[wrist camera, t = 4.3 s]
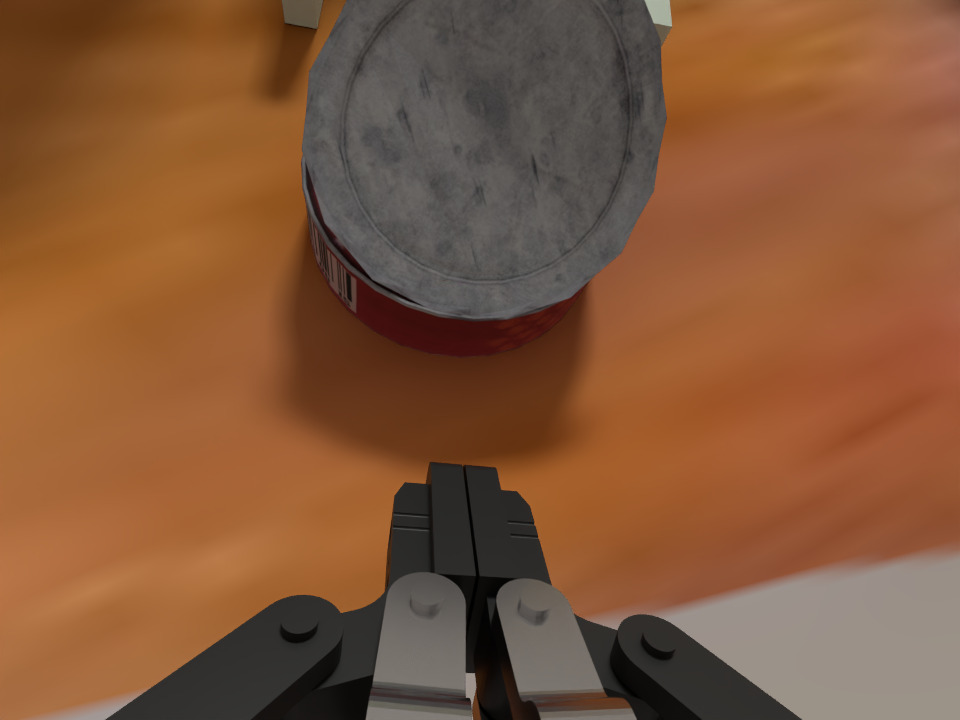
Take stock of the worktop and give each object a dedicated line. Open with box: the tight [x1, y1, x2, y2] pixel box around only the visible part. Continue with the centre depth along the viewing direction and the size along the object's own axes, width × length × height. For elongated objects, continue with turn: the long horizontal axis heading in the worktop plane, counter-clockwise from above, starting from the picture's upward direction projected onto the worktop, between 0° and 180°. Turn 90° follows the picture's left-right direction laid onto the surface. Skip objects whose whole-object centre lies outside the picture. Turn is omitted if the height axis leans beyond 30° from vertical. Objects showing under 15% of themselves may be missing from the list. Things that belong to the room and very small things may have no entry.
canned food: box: [301, 0, 667, 357], centre depth 19 cm, size 11×10×10 cm
